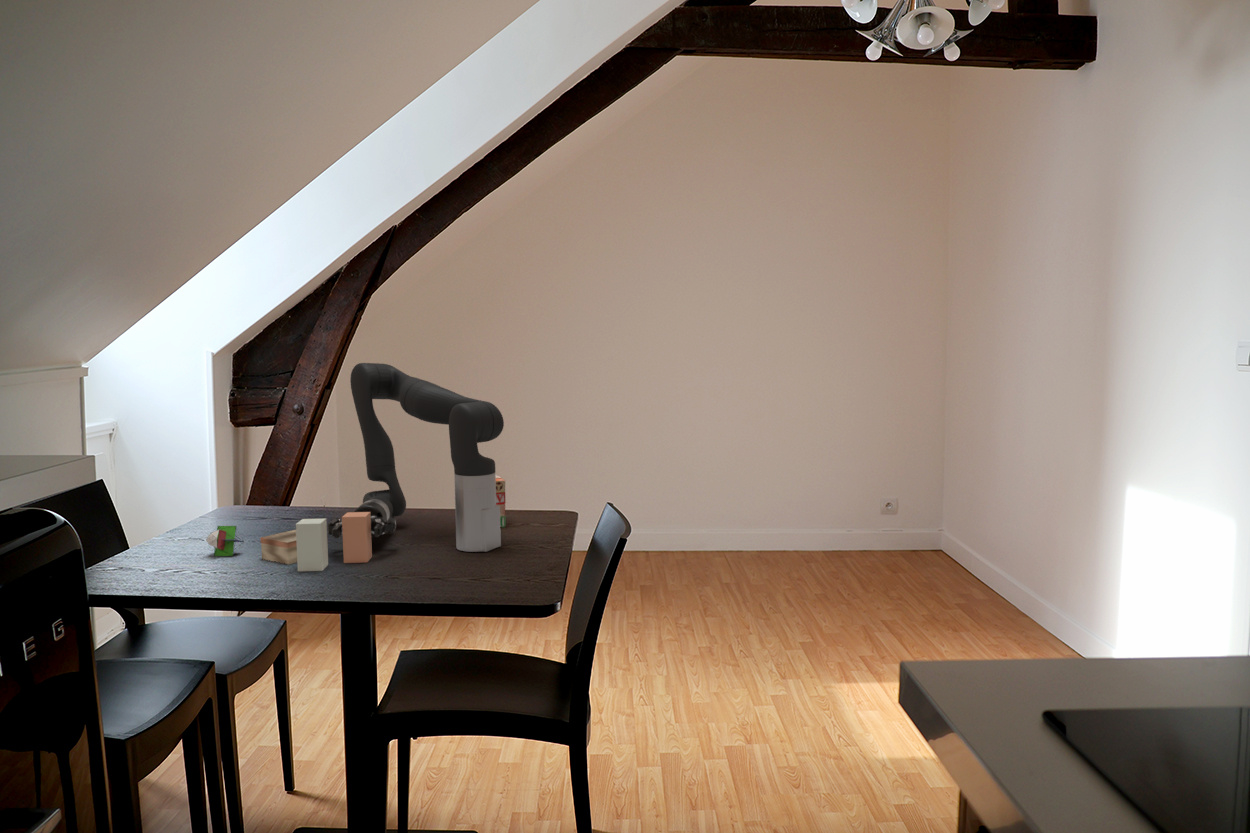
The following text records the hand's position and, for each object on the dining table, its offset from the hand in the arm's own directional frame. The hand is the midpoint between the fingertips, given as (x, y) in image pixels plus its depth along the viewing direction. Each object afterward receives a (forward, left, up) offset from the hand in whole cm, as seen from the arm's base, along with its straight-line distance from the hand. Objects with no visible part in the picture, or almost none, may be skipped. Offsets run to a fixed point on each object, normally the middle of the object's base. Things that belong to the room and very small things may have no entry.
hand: (356, 533), depth 198 cm
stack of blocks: (-2, -46, -6) cm, 46 cm away
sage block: (+4, +9, -6) cm, 11 cm away
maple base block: (+15, +3, -6) cm, 17 cm away
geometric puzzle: (+31, +8, -6) cm, 32 cm away
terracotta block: (0, -1, -6) cm, 6 cm away
